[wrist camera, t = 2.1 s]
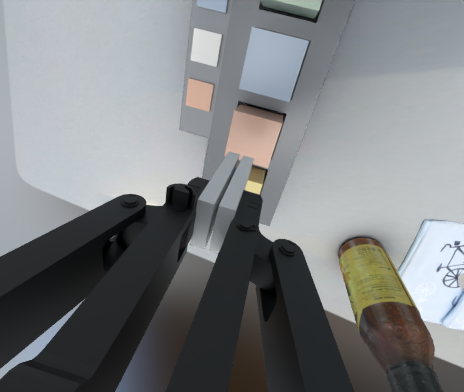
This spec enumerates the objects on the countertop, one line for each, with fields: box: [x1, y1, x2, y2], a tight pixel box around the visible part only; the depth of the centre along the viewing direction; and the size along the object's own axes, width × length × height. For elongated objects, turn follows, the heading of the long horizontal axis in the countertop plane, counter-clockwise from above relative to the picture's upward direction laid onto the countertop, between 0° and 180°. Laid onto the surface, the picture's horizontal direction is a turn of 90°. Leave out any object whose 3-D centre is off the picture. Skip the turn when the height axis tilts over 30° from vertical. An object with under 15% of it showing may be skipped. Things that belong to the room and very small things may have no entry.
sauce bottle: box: [338, 238, 443, 392], centre depth 26 cm, size 7×6×20 cm
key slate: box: [239, 27, 309, 102], centre depth 22 cm, size 5×5×4 cm
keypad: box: [179, 0, 355, 226], centre depth 25 cm, size 14×36×3 cm, turn 167°
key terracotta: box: [224, 104, 283, 168], centre depth 25 cm, size 5×5×4 cm
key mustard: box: [236, 162, 266, 194], centre depth 28 cm, size 5×5×4 cm
